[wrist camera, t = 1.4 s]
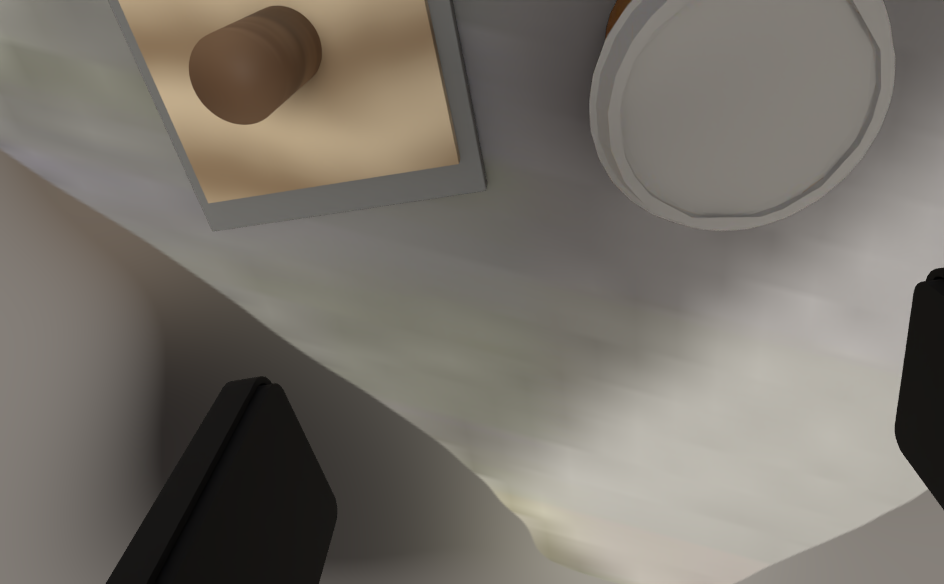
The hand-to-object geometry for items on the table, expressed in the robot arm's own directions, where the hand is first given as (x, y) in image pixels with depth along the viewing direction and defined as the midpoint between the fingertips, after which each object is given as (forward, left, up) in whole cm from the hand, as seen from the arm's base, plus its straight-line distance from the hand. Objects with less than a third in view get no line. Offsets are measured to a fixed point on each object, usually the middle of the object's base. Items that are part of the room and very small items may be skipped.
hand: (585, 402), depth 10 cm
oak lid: (-3, -12, -24) cm, 27 cm away
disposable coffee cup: (0, +6, -25) cm, 26 cm away
